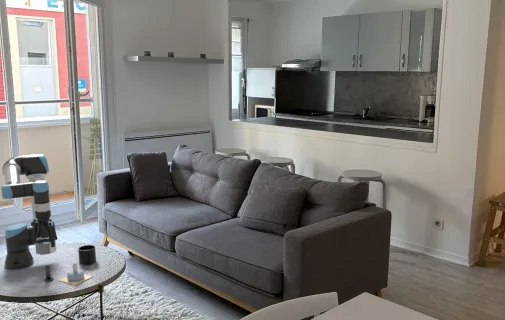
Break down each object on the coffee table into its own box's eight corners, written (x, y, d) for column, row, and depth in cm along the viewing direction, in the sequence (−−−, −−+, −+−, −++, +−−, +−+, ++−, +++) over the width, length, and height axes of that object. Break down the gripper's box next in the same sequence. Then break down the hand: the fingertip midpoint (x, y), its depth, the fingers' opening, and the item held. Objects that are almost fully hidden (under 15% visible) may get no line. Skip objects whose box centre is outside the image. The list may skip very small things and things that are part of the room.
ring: (32, 252, 256) (31, 241, 254) (48, 247, 264) (47, 236, 262) (44, 255, 251) (43, 244, 250) (59, 250, 259) (58, 239, 258)
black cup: (82, 268, 275) (81, 253, 274) (77, 261, 285) (76, 247, 284) (99, 264, 281) (98, 249, 279) (93, 258, 290) (92, 243, 289)
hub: (59, 280, 259) (57, 264, 257) (77, 272, 269) (76, 257, 267) (74, 285, 253) (73, 269, 251) (92, 277, 263) (91, 261, 261)
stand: (41, 280, 259) (40, 266, 258) (49, 277, 263) (48, 263, 262) (47, 282, 257) (46, 268, 255) (55, 279, 261) (54, 265, 259)
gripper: (23, 209, 255) (26, 249, 259) (50, 215, 244) (53, 257, 248) (35, 205, 262) (39, 245, 266) (62, 211, 251) (66, 252, 255)
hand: (46, 250), depth 257 cm, fingers closed on ring, 9 cm apart
